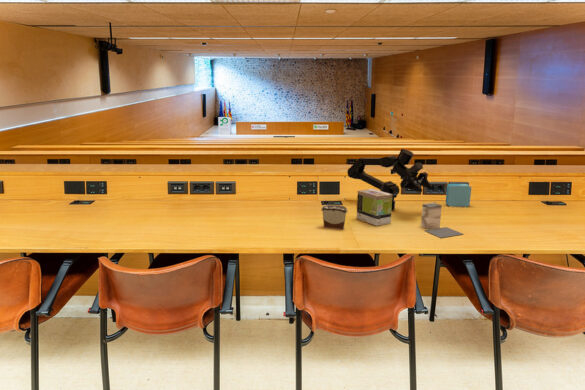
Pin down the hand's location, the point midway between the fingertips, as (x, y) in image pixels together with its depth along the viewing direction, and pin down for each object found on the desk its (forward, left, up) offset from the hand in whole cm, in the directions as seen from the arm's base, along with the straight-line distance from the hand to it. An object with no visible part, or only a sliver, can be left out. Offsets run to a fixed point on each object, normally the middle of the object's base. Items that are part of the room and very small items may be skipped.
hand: (427, 189), depth 223 cm
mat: (+10, -21, -15) cm, 27 cm away
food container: (-38, -30, -15) cm, 51 cm away
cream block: (+4, -14, -15) cm, 21 cm away
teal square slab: (+15, +32, -15) cm, 38 cm away
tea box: (-23, -14, -15) cm, 31 cm away
